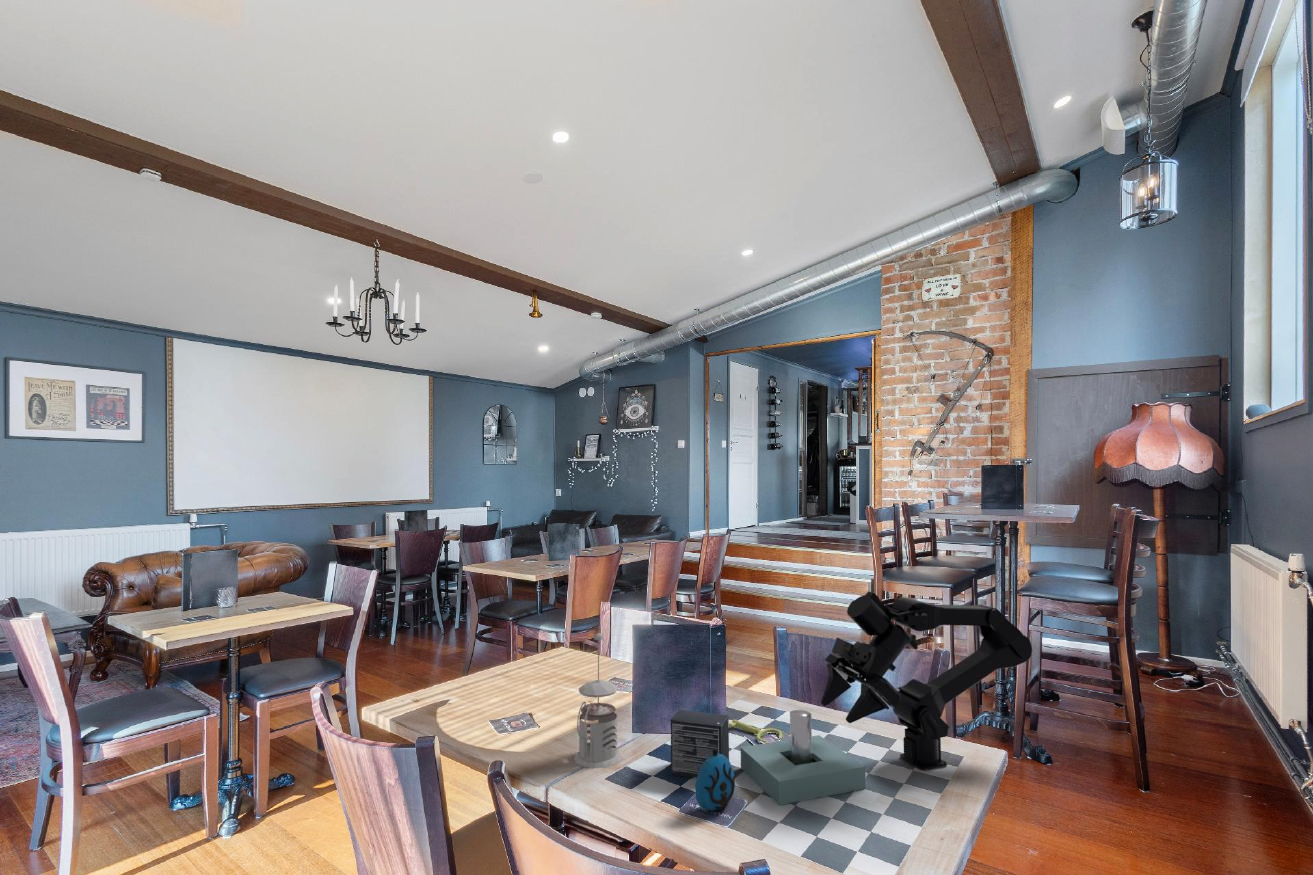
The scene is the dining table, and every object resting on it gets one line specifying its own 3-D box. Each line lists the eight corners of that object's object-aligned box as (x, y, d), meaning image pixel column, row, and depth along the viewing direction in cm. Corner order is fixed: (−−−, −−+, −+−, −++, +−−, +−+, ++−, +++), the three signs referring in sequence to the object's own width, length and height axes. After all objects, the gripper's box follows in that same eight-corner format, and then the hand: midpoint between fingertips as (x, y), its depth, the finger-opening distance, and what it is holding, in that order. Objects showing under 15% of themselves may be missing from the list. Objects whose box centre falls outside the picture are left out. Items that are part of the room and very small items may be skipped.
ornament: (706, 822, 107) (706, 760, 107) (689, 810, 110) (688, 751, 111) (742, 807, 111) (742, 748, 112) (724, 796, 115) (724, 739, 116)
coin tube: (811, 774, 124) (810, 710, 124) (812, 783, 120) (811, 718, 120) (790, 772, 124) (789, 709, 125) (790, 781, 121) (790, 716, 121)
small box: (730, 768, 126) (730, 713, 127) (723, 783, 120) (722, 725, 121) (679, 760, 130) (679, 707, 130) (669, 774, 124) (669, 718, 124)
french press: (630, 751, 134) (630, 630, 135) (602, 775, 123) (603, 643, 125) (589, 743, 138) (590, 625, 139) (559, 765, 127) (560, 638, 129)
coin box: (819, 754, 132) (819, 735, 132) (865, 788, 118) (865, 766, 118) (740, 768, 126) (740, 747, 126) (779, 804, 112) (779, 781, 112)
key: (732, 727, 148) (732, 718, 148) (785, 736, 143) (785, 726, 143) (722, 739, 141) (722, 729, 141) (777, 749, 136) (777, 738, 136)
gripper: (832, 613, 136) (785, 671, 132) (885, 634, 118) (832, 702, 114) (865, 648, 138) (820, 706, 134) (923, 674, 120) (872, 742, 116)
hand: (834, 712), depth 125 cm, fingers open, 9 cm apart
